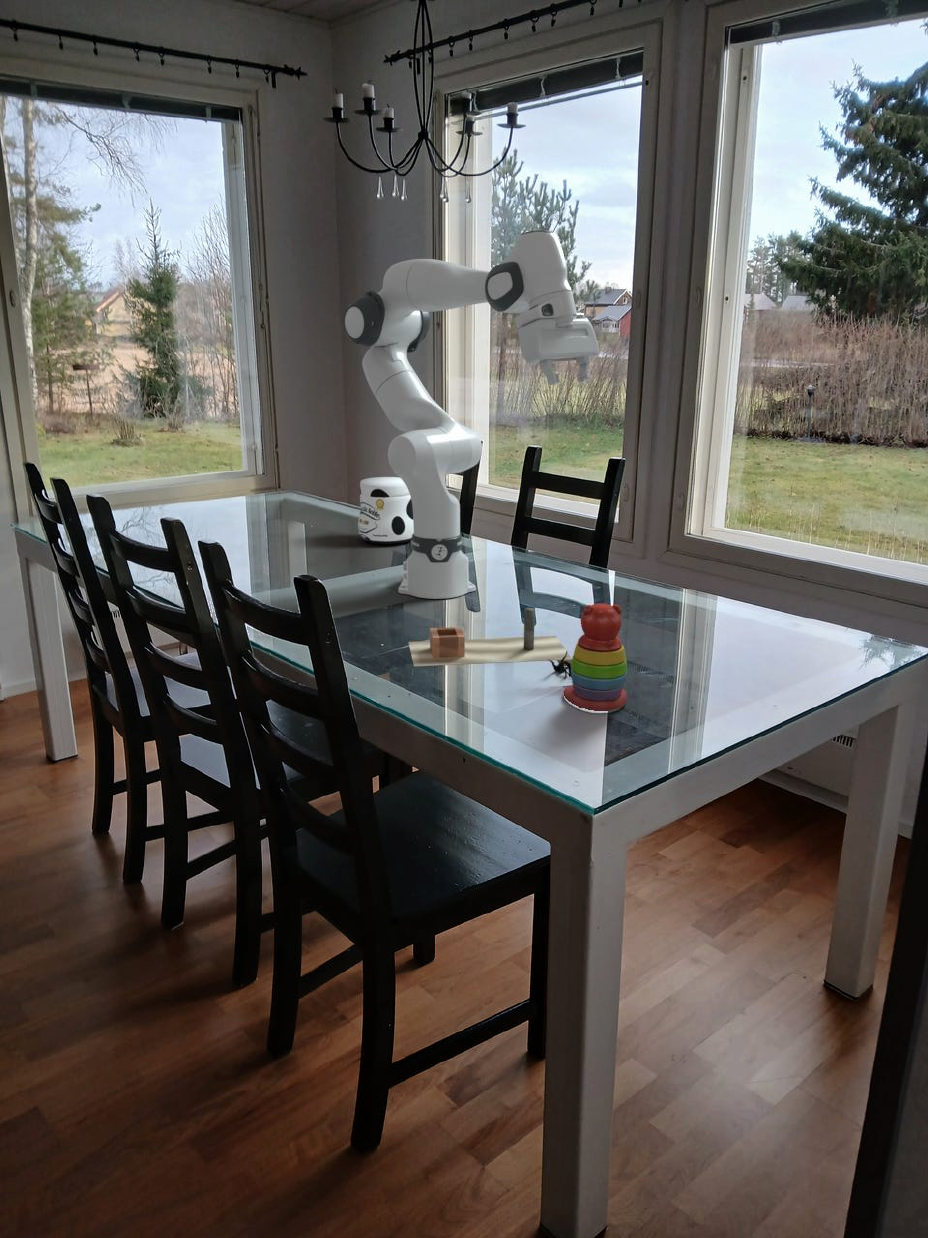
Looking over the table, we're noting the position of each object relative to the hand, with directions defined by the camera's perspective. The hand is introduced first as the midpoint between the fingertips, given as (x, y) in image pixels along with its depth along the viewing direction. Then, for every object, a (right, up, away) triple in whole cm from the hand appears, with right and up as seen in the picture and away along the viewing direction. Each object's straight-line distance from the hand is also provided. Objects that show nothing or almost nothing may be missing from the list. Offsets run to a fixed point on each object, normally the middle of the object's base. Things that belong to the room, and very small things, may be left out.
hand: (569, 382), depth 187 cm
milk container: (-44, -24, +94) cm, 106 cm away
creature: (-1, -59, -16) cm, 61 cm away
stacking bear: (+2, -62, -25) cm, 67 cm away
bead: (-24, -53, -5) cm, 59 cm away
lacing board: (-16, -54, -4) cm, 57 cm away
